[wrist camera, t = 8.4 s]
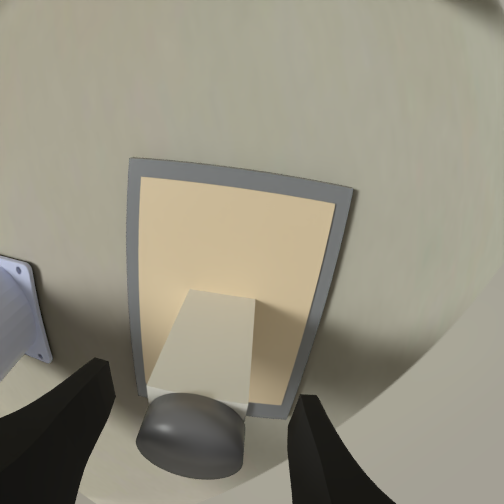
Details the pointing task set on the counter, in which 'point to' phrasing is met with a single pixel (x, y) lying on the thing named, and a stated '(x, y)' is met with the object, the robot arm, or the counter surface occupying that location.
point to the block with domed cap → (201, 389)
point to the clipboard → (233, 261)
